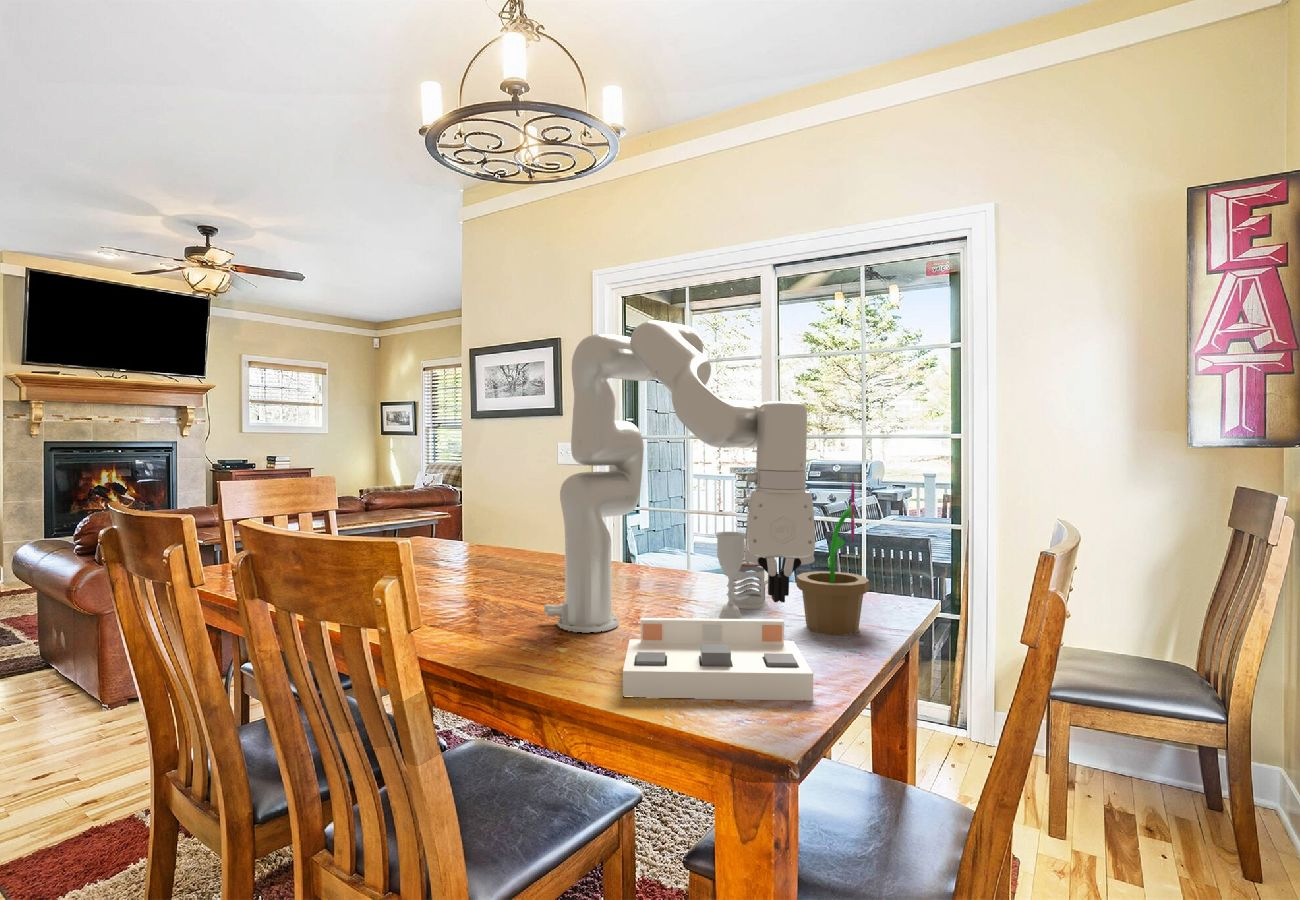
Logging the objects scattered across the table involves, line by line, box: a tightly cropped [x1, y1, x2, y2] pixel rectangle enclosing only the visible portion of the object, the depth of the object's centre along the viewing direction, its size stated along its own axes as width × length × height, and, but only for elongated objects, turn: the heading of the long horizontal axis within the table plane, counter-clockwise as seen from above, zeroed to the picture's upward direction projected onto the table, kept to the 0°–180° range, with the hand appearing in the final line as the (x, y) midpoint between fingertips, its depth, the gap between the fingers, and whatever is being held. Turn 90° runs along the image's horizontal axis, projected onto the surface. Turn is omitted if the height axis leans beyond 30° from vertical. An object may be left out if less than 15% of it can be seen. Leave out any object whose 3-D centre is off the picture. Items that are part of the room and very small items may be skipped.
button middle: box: [701, 644, 731, 667], centre depth 104 cm, size 4×4×3 cm
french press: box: [726, 496, 778, 610], centre depth 157 cm, size 10×12×25 cm
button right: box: [764, 653, 797, 668], centre depth 103 cm, size 4×4×3 cm
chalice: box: [714, 531, 746, 619], centre depth 145 cm, size 7×7×18 cm
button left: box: [636, 652, 665, 666], centre depth 104 cm, size 4×4×3 cm
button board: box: [622, 617, 814, 702], centre depth 107 cm, size 28×16×8 cm, turn 88°
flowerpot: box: [796, 481, 870, 636], centre depth 137 cm, size 14×14×30 cm
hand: (778, 600), depth 104 cm, fingers closed
